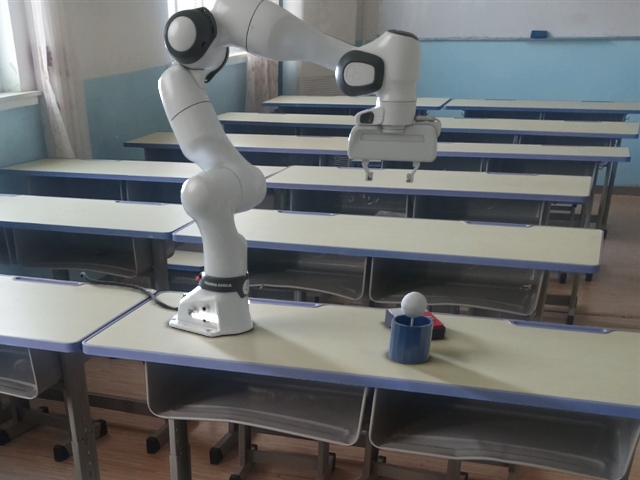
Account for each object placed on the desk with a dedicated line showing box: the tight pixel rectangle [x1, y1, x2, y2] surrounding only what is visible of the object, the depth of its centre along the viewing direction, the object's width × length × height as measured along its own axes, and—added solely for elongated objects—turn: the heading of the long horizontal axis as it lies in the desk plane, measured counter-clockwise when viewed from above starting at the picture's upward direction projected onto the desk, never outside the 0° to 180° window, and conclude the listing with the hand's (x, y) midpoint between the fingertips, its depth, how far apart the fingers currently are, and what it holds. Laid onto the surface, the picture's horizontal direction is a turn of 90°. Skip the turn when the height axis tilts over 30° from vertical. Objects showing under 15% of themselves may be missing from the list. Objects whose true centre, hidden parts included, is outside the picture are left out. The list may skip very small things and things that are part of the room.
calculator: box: [384, 307, 447, 340], centre depth 209 cm, size 11×4×15 cm
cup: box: [388, 314, 434, 365], centre depth 192 cm, size 10×10×9 cm
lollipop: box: [400, 291, 428, 326], centre depth 190 cm, size 6×6×15 cm
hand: (389, 181), depth 187 cm, fingers open, 8 cm apart
